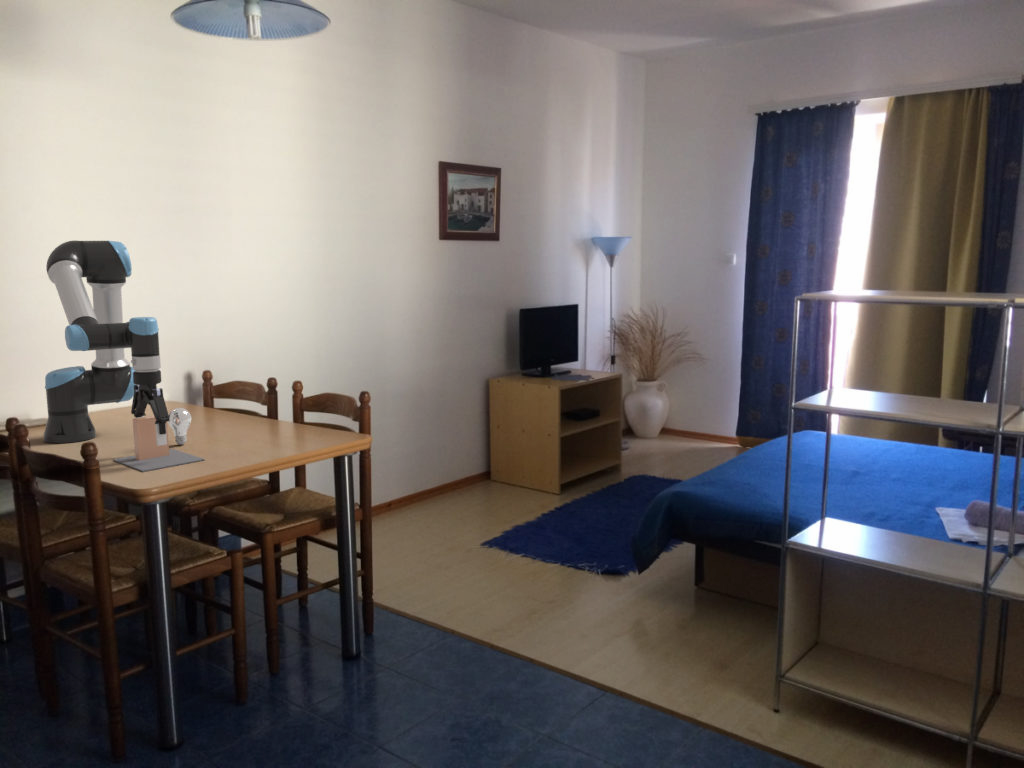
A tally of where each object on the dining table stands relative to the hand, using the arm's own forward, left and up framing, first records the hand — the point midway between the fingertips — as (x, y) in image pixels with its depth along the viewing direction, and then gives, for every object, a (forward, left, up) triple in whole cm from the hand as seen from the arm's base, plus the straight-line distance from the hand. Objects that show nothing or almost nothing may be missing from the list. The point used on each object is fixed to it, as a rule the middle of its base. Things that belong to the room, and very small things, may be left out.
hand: (151, 441), depth 243 cm
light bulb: (-11, +14, -5) cm, 19 cm away
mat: (+4, 0, -5) cm, 6 cm away
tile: (0, 0, -5) cm, 5 cm away
